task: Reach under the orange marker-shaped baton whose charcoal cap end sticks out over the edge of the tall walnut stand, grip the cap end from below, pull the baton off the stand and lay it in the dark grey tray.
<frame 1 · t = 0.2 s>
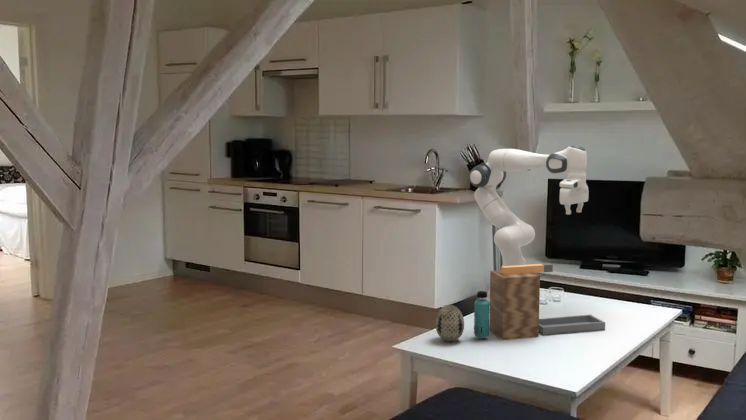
hand: (573, 213, 316), 48 cm above the table, tool pointing down, fingers open, 8 cm apart
beverage bottle: (481, 339, 292), on the table
stand: (513, 333, 298), on the table
tray: (567, 328, 304), on the table
decorative egg: (449, 341, 290), on the table
marker: (526, 272, 296), point 26 cm above the table, touching stand
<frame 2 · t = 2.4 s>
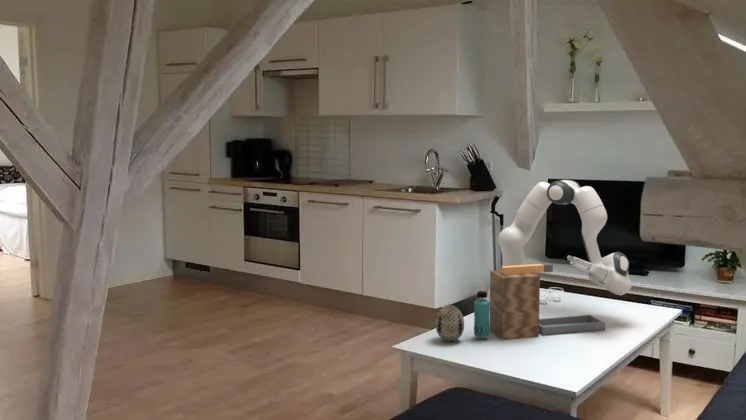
hand: (574, 259, 301), 30 cm above the table, tool pointing upward, fingers open, 8 cm apart
nothing on the table moved.
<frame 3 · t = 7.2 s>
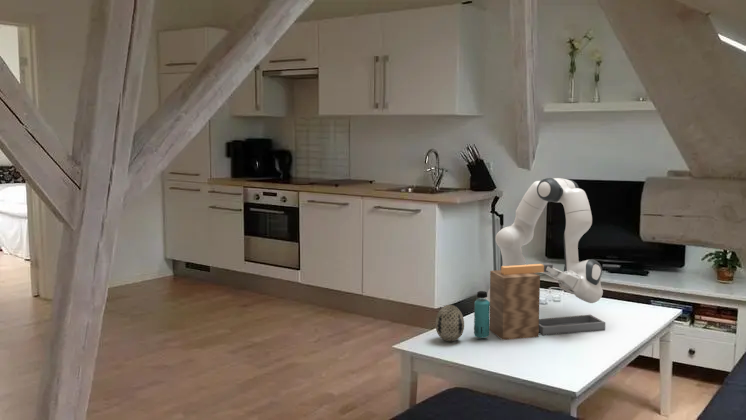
hand: (543, 266, 298), 28 cm above the table, tool pointing upward, fingers closed on marker, 3 cm apart
marker: (526, 272, 296), point 26 cm above the table, touching gripper, stand
everything else where it was.
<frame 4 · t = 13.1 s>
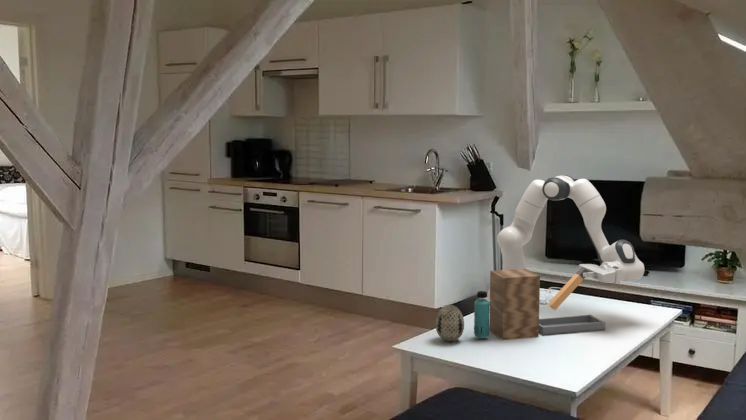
hand: (579, 273, 302), 24 cm above the table, tool horizontal, fingers closed on marker, 3 cm apart
marker: (570, 290, 302), point 17 cm above the table, tilted 44°, touching gripper
everything else where it was.
when the fingers open (14 cm above the table, at t = 16.4 s): marker drops 6 cm, resting on tray.
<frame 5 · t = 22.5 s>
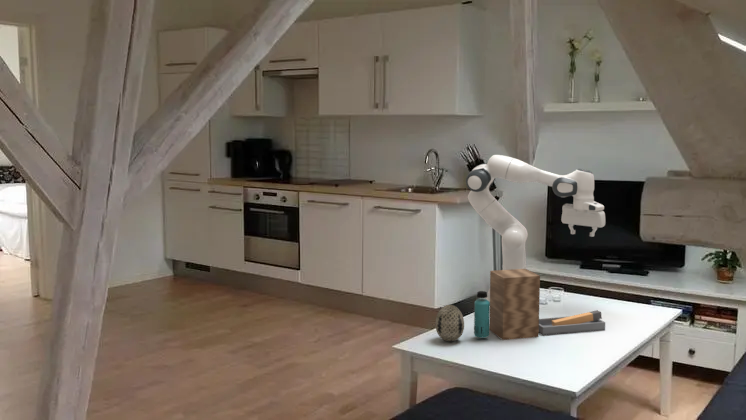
hand: (582, 235, 321), 37 cm above the table, tool pointing down, fingers open, 8 cm apart
marker: (577, 322, 305), point 2 cm above the table, tilted 8°, touching tray
everything else where it was.
at the end: marker inside the target area on the tray (4.5 cm from its centre), point 2.3 cm above the tray's base; the gripper is holding nothing; marker touching tray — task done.
